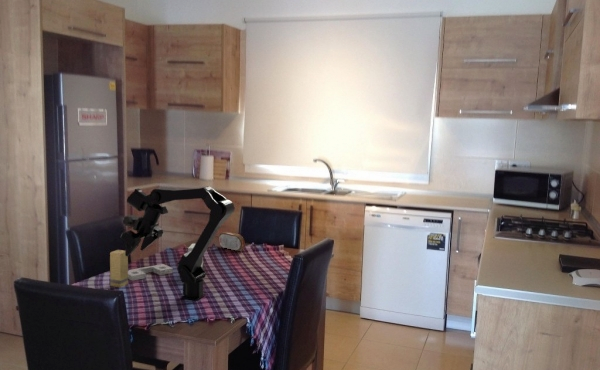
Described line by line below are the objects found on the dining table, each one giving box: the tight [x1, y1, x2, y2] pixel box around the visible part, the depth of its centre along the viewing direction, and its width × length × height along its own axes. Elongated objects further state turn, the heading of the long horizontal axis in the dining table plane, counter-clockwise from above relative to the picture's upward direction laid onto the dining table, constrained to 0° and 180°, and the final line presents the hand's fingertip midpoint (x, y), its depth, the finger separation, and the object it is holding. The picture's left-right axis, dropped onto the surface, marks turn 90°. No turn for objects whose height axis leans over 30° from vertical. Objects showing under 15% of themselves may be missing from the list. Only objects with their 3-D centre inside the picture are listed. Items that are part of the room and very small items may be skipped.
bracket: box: [128, 263, 174, 282], centre depth 216 cm, size 8×18×2 cm, turn 134°
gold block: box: [109, 249, 129, 288], centre depth 201 cm, size 5×5×13 cm
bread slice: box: [218, 231, 246, 252], centre depth 261 cm, size 15×3×8 cm, turn 58°
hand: (134, 252), depth 198 cm, fingers open, 9 cm apart
